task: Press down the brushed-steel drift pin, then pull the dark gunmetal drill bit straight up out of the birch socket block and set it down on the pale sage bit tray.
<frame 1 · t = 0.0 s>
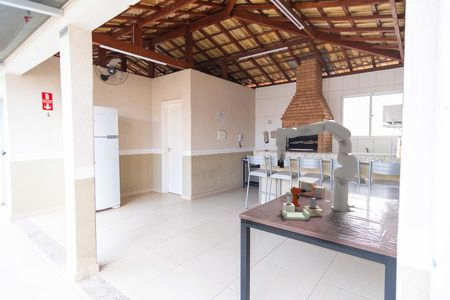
hand: (280, 167, 172), 31 cm above the table, fingers open, 9 cm apart
toy drill: (300, 206, 177), on the table
stack of blocks: (312, 195, 212), on the table
drill bit: (313, 205, 160), in the socket
drift pin: (288, 199, 165), point 9 cm above the table, slide at 0.0 cm
socket: (312, 213, 160), on the table
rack: (295, 216, 153), on the table
pin housing: (288, 211, 165), on the table
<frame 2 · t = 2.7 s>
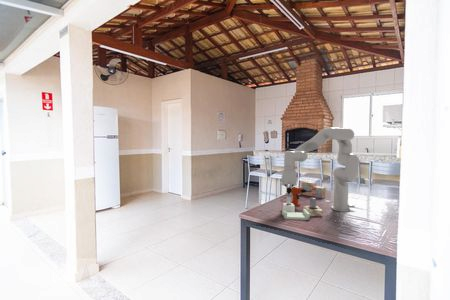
hand: (288, 193, 165), 13 cm above the table, fingers closed
drift pin: (288, 200, 165), point 8 cm above the table, slide at 0.4 cm, touching gripper
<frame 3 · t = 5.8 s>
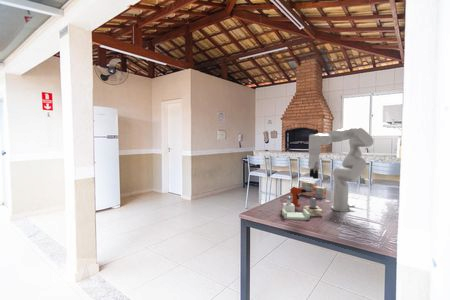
hand: (313, 177, 159), 26 cm above the table, fingers open, 7 cm apart
drift pin: (288, 203, 165), point 6 cm above the table, slide at 2.7 cm
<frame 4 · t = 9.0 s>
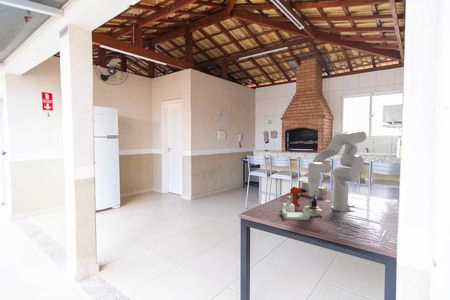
hand: (313, 205, 160), 6 cm above the table, fingers closed on drill bit, 4 cm apart
drill bit: (313, 205, 160), in the socket, touching gripper
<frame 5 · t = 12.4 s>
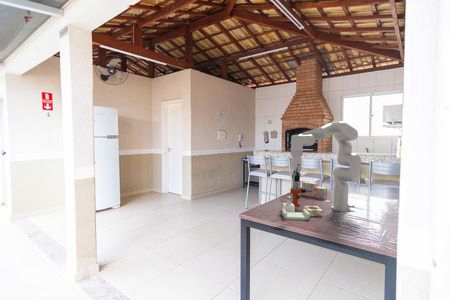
hand: (296, 180, 152), 25 cm above the table, fingers closed on drill bit, 4 cm apart
drill bit: (295, 180, 152), point 24 cm above the table, touching gripper
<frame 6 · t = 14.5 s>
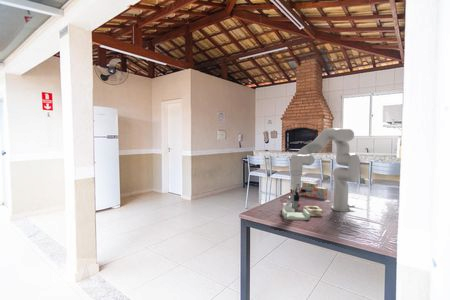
hand: (295, 199, 153), 12 cm above the table, fingers closed on drill bit, 4 cm apart
drill bit: (295, 200, 153), point 12 cm above the table, touching gripper
when the fingers open (8 cm above the table, at t = 16.1 s): drill bit stays where it is, resting on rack.
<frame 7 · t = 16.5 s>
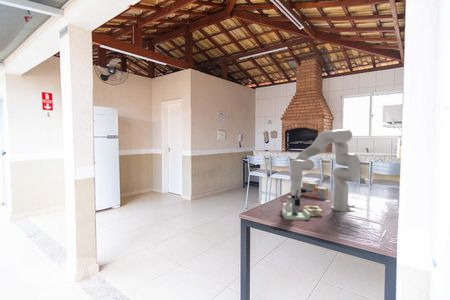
hand: (295, 203, 153), 9 cm above the table, fingers open, 8 cm apart
drill bit: (295, 206, 153), point 7 cm above the table, touching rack
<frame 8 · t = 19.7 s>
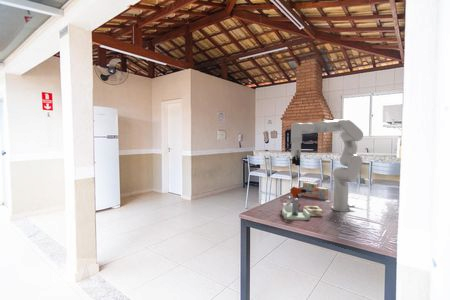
hand: (295, 164, 161), 34 cm above the table, fingers open, 9 cm apart
at the end: drift pin slide at 2.7 cm; drill bit inside the target area on the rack (0.2 cm from its centre), point 7.0 cm above the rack's base; drill bit touching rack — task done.
